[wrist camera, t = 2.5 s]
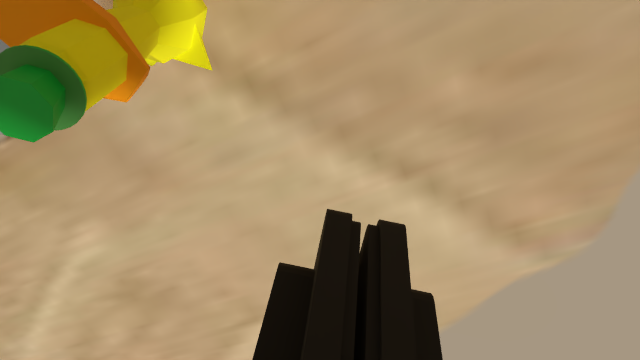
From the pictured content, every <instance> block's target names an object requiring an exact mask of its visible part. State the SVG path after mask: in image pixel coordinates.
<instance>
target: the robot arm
mask: <svg viewBox="0 0 640 360" xmlns="http://www.w3.org/2000/svg"><path fill="white" fill-rule="evenodd" d="M360 231H361V223H360V222H355V221H352V214H350V213H345V212H340V211H335V210H330V209H327V212H326V216H325V220H324V225H323V230H322V234H321V239H320V243H319V248H318V253H317V257H316V262H315V266H314V269H309V268H305V267H300V266H295V265H290V264H285V263H279V265H278V269H277V272H276V276H275V279H274V283H273V287H272V290H271V294H270V298H269V301H268V305H267V309H266V312H265V316H264V319H263V323H262V327H261V330H260V334H259V338H258V341H257V345H256V349H255V352H254V356H253V360H442V352H441V345H440V339H439V331H438V324H437V317H436V309H435V302H434V298H433V296H432V294H431V293H427V292H422V291H417V290H412V289H411V283H410V271H409V259H408V247H407V236H406V227H405V225H404V224H399V223H394V222H389V221H384V220H379V221H378V223H377V226H375V225H370V224H368V226H367V229H366V232H365V236H364V239H363V243H362V247H361V250H360ZM359 250H360V254H359Z"/></svg>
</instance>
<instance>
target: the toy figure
mask: <svg viewBox="0 0 640 360" xmlns="http://www.w3.org/2000/svg"><path fill="white" fill-rule="evenodd" d="M206 13H207V7H206V5H205V4H204V2H203V0H113V9H108V10H105V9H104V8H102V7H101V6H100V5H99V4H97V3H96V2H95V1H93V0H0V39H1V40H2V41H3V42H4V43H5V44H7V45H8V46H9V47H10V48H8V49H5V50H4V51H3V52H1V53H0V131H1V132H2V133H3V134H4V135H6V136H10V137H14V138H18V139H22V140H26V141H30V142H35V141H37V140H39V139H41V138H42V137H44V136H46V135H48V134H50V133H52V132H53V131H54V130H63V129H66V128H69V127H71V126H73V125H74V124H76V123H77V122H78V121H79V120H80V119H81V117H82V116H83V115H84V112H85V111H86V110H88V109H89V108H90V107H92V106H93V105H94V104H96V103H97V102H98V101H100V100H101V99H102V98H106V99H111V100H117V101H122V102H127V101H129V99H130V98H131V97H132V96H133V94H134V93H135V92H136V91H137V90H138V88H139V87H140V86H141V85H142V83H143V82H144V80H145V79H146V77H147V76H148V73H149V70H150V66H153V65H154V64H155V63H156V62H160V63H163V64H164V63H165V62H167V61H169V60H171V59H175V60H179V61H182V62H185V63H189V64H192V65H195V66H199V67H202V68H205V69H209V70H212V68H211V65H210V62H209V58H208V55H207V52H206V49H205V46H204V43H203V40H202V36H203V30H204V24H205V19H206ZM149 65H150V66H149Z"/></svg>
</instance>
